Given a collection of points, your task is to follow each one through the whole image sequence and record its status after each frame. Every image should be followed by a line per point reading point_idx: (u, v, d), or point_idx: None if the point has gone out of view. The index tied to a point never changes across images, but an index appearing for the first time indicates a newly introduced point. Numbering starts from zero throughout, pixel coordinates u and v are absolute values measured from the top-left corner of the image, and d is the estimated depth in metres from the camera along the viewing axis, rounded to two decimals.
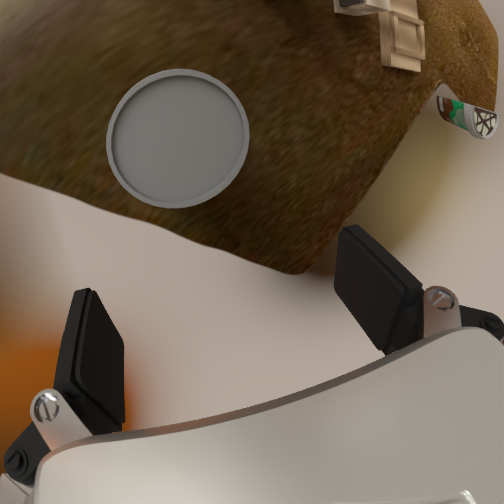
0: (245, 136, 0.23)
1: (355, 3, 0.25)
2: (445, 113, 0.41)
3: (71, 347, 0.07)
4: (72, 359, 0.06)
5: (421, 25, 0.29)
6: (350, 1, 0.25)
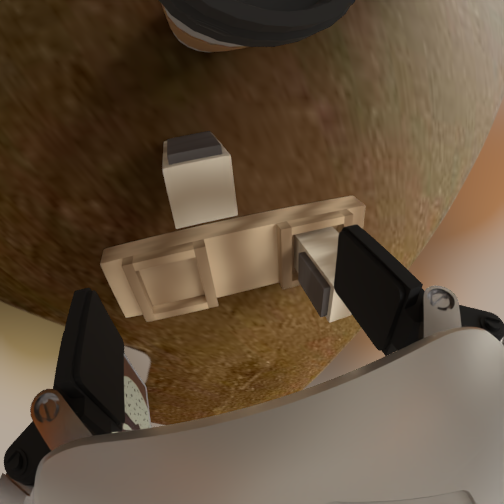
0: None
1: None
2: None
3: (71, 347, 0.07)
4: (72, 358, 0.06)
5: (207, 303, 0.28)
6: (172, 146, 0.18)
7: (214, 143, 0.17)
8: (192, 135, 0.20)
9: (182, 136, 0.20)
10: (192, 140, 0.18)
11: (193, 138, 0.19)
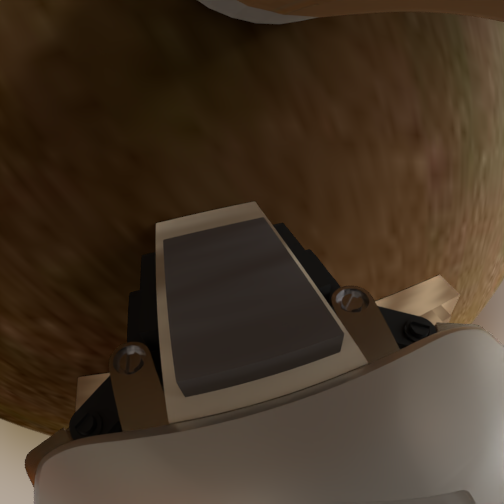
0: None
1: None
2: None
3: (151, 301, 0.08)
4: (156, 310, 0.08)
5: None
6: (181, 297, 0.06)
7: (316, 315, 0.06)
8: (225, 233, 0.09)
9: (199, 232, 0.09)
10: (234, 271, 0.07)
11: (234, 256, 0.08)
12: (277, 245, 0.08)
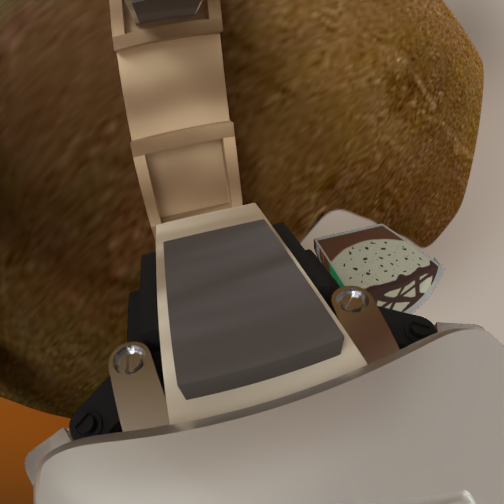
0: None
1: None
2: None
3: (151, 301, 0.08)
4: (156, 310, 0.08)
5: (225, 137, 0.19)
6: (182, 300, 0.06)
7: (316, 318, 0.06)
8: (225, 235, 0.09)
9: (200, 234, 0.09)
10: (235, 273, 0.07)
11: (234, 258, 0.08)
12: (277, 247, 0.08)
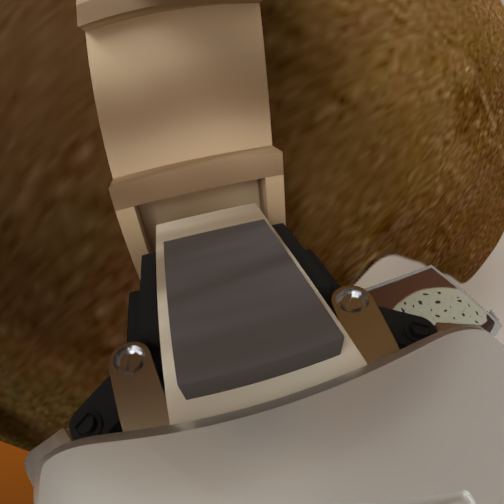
0: None
1: None
2: None
3: (151, 301, 0.08)
4: (156, 310, 0.08)
5: (269, 176, 0.12)
6: (182, 299, 0.07)
7: (316, 318, 0.06)
8: (225, 235, 0.09)
9: (200, 234, 0.09)
10: (235, 273, 0.07)
11: (234, 258, 0.08)
12: (277, 247, 0.08)
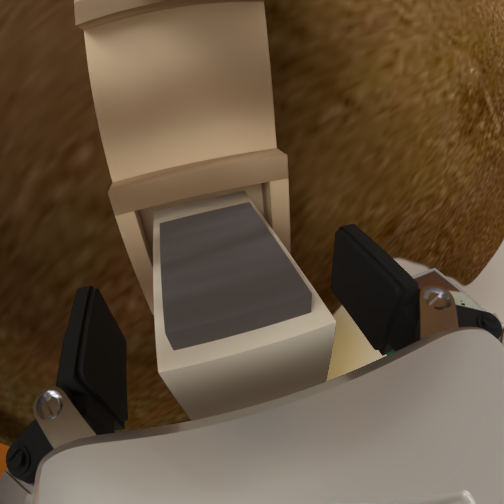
0: None
1: None
2: None
3: (74, 344, 0.07)
4: (75, 356, 0.06)
5: (273, 180, 0.11)
6: (174, 267, 0.07)
7: (288, 279, 0.07)
8: (214, 216, 0.10)
9: (192, 216, 0.10)
10: (220, 245, 0.08)
11: (220, 234, 0.09)
12: (259, 224, 0.09)
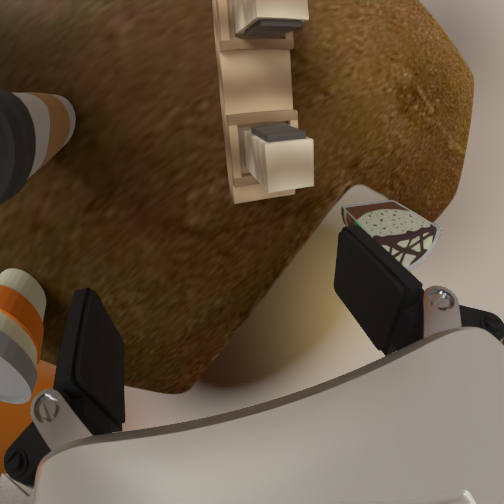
0: (21, 377, 0.21)
1: (261, 135, 0.23)
2: None
3: (71, 347, 0.07)
4: (72, 359, 0.06)
5: (292, 120, 0.27)
6: (263, 130, 0.23)
7: (299, 130, 0.22)
8: (271, 125, 0.25)
9: (263, 125, 0.25)
10: (277, 128, 0.24)
11: (276, 127, 0.24)
12: (288, 126, 0.24)
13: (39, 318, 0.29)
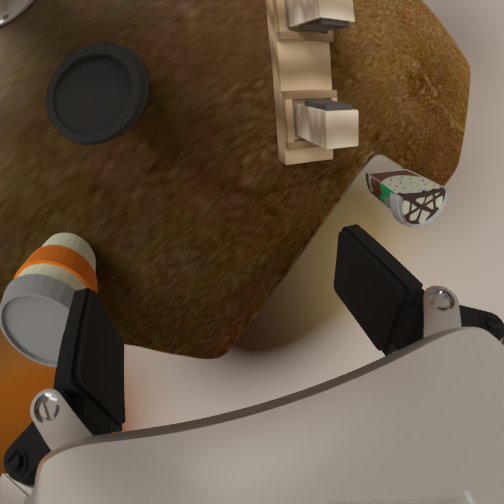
0: None
1: (318, 106, 0.27)
2: (375, 194, 0.43)
3: (71, 347, 0.07)
4: (72, 358, 0.06)
5: (332, 97, 0.32)
6: (318, 102, 0.28)
7: (346, 103, 0.27)
8: (320, 100, 0.30)
9: (313, 100, 0.30)
10: (327, 101, 0.28)
11: (325, 101, 0.29)
12: (334, 101, 0.29)
13: (95, 277, 0.34)
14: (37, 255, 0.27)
